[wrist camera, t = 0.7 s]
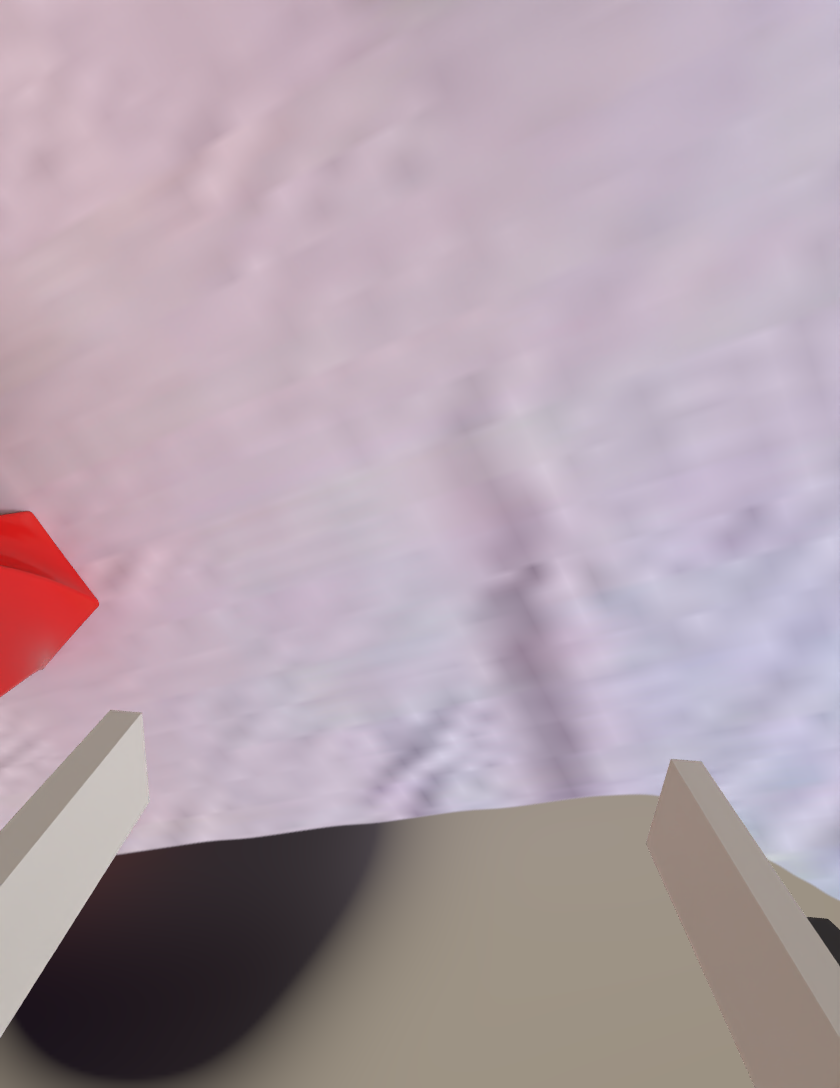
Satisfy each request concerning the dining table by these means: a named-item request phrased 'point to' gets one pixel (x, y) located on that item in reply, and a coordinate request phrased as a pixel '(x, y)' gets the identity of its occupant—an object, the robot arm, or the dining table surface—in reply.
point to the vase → (35, 599)
